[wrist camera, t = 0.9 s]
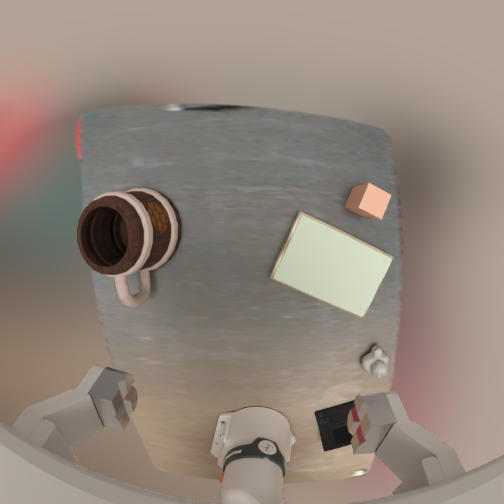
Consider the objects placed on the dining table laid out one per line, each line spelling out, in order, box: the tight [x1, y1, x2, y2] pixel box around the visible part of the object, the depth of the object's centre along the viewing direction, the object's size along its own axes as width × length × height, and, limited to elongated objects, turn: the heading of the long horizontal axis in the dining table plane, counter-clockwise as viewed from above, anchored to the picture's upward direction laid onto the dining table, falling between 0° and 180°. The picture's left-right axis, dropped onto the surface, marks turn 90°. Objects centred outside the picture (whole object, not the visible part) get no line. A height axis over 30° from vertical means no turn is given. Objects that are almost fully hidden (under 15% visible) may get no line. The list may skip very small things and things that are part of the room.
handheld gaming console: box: [315, 400, 355, 451], centre depth 52 cm, size 12×7×10 cm
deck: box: [270, 211, 393, 318], centre depth 48 cm, size 12×18×4 cm, turn 66°
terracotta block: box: [344, 183, 391, 219], centre depth 44 cm, size 4×4×9 cm
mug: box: [77, 188, 181, 308], centre depth 45 cm, size 20×15×15 cm
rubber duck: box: [362, 346, 389, 380], centre depth 48 cm, size 5×7×8 cm
